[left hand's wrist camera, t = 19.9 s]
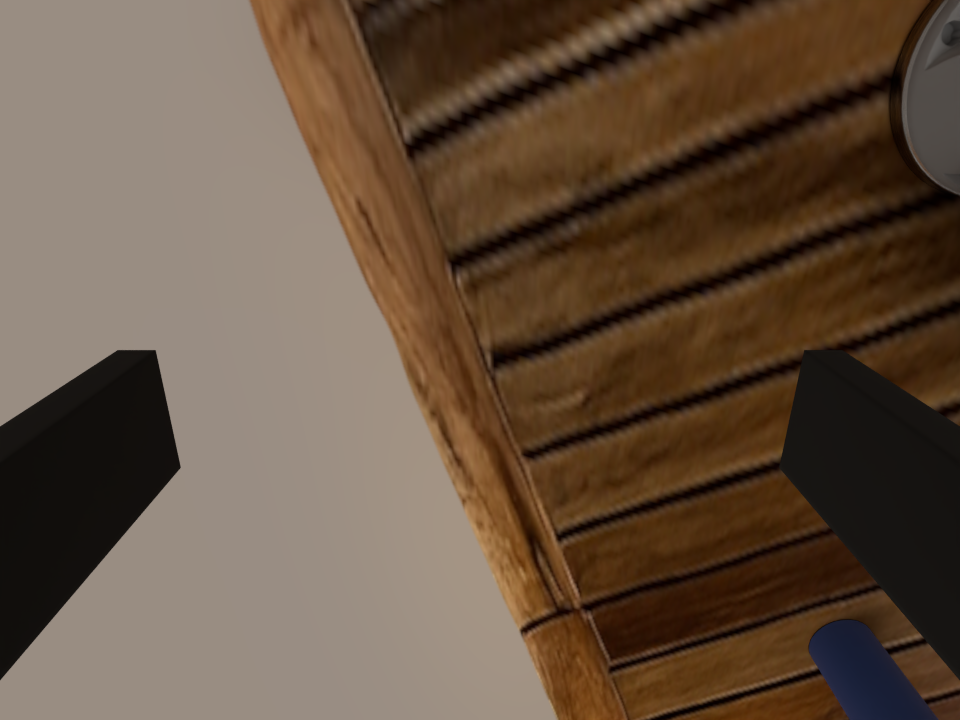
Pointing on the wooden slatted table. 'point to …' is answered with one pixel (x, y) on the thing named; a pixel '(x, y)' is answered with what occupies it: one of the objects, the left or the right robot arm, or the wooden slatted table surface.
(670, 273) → the wooden slatted table surface
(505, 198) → the wooden slatted table surface
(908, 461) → the left robot arm
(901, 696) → the canister
